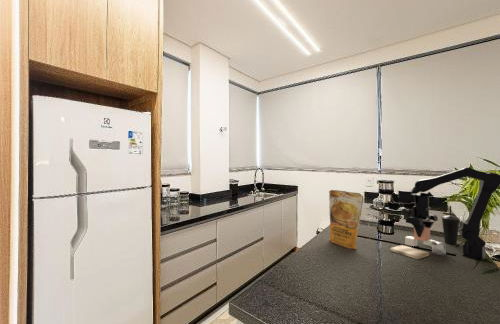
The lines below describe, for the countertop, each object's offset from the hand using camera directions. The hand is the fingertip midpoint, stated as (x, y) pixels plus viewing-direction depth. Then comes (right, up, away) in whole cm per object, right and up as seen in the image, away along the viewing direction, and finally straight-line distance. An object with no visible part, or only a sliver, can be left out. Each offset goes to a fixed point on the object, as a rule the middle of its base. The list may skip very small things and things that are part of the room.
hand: (421, 236), depth 117 cm
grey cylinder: (+3, -6, -6) cm, 9 cm away
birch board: (-10, -6, -6) cm, 14 cm away
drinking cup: (+22, -7, +8) cm, 24 cm away
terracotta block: (0, -2, 0) cm, 2 cm away
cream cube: (-2, -6, +5) cm, 8 cm away
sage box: (+8, -7, +4) cm, 11 cm away
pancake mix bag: (-37, -6, +5) cm, 38 cm away
